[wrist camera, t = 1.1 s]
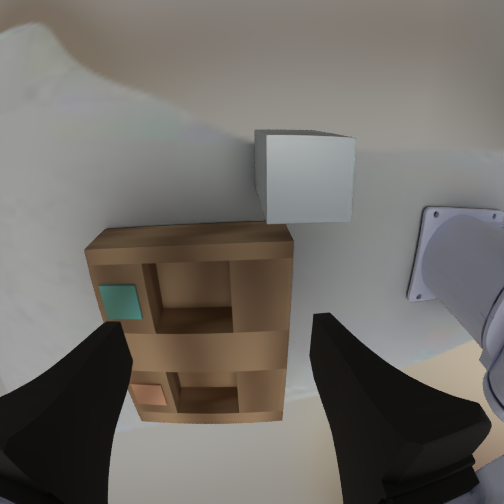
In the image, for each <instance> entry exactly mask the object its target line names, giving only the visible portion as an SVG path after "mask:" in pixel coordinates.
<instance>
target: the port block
mask: <svg viewBox="0 0 504 504" xmlns="http://www.w3.org/2000/svg"><path fill="white" fill-rule="evenodd" d="M293 248H294V241H293V239H292V236H291V234H290V232H289V230H288V228H287V226H286V224H267V223H266V221H259V222H231V223H207V224H185V225H166V226H148V227H131V228H116V229H105V230H104V231H103V232H102V233H101V234H99V235H98V236H97V237H96V238H95V239H94V240H93V241H92V242H91V243H90V245H89V246H88V247H87V248H86V249H85V250H84V251H85V256H86V260H87V264H88V268H89V272H90V276H91V280H92V284H93V288H94V291H95V295H96V298H97V302H98V305H99V309H100V312H101V315H102V319H103V322H104V323H105V322H106V321H120V322H121V325H122V328H123V331H124V335H125V338H126V341H127V344H128V347H129V350H130V353H131V356H132V359H133V366H132V372H131V378H130V383H129V386H128V391H129V393H130V396H131V398H132V400H133V403H134V405H135V407H136V409H137V412H138V414H139V416H140V418H141V421H148V422H163V423H190V424H191V423H192V424H226V423H227V424H229V423H253V422H268V421H280V420H282V416H283V406H284V395H285V383H286V370H287V357H288V342H289V327H290V310H291V292H292V272H293Z"/></svg>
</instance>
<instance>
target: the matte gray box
mask: <svg viewBox="0 0 504 504" xmlns="http://www.w3.org/2000/svg"><path fill="white" fill-rule="evenodd" d="M355 139H356V138H354V137H348V136H343V135H338V134H332V133H326V132H320V131H314V130H313V131H312V130H255V188H256V191H257V194H258V197H259V200H260V204H261V207H262V210H263V213H264V216H265V219H266V223H267V224H285V223H328V222H351V210H352V197H353V182H354V164H355Z"/></svg>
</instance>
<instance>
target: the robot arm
mask: <svg viewBox="0 0 504 504" xmlns="http://www.w3.org/2000/svg"><path fill="white" fill-rule="evenodd" d="M435 212H436V215H435V216H434V213H435ZM492 216H493V217H492ZM503 218H504V213H503V211H501V210H492V209H474V208H452V207H427V208H426V209H425V210H424V213H423V220H422V226H421V232H420V238H419V244H418V249H417V254H416V259H415V264H414V269H413V273H412V278H411V282H410V287H409V291H408V295H407V298H408V300H409V301H410V302H417V301H425V300H432V299H438V300H439V301H440V302H441V303H442V304H443V305H444V306H445V307H446V308H447V309H448V310H449V311H450V312H451V314H452V315H453V316H454V317H455V318H456V319H457V320H458V321H459V322H460V324H461V325H462V326H463V327H464V328H465V329H466V330H467V331H468V333H469V334H470V335H471V336H472V337H473V338H474V340H475V341H476V342H477V343H478V344H479V345H480V347H481V348H482V349H483V351H482V354H481V357H480V359H479V360H480V362H481V363H482V364H483V365H484V367H485V368H486V370H487V372H486V373H485V376H484V378H483V391H484V395H485V397H486V400H487V402H488V404H489V406H490V408H491V409H492V411H493V412H494V414H495V415H496V416H497V417H498V418H499V419H500V420H501V421H503V422H504V224H503ZM418 294H419V295H418ZM417 295H418V296H417ZM309 356H310V361H311V366H312V371H313V376H314V380H315V383H316V386H317V389H318V392H319V395H320V398H321V401H322V404H323V407H324V409H325V412H326V416H327V418H328V421H329V424H330V428H331V431H332V436H333V441H334V446H335V451H336V456H337V462H338V468H339V473H340V480H341V488H342V495H343V504H504V455H502V456H500V457H499V458H497V459H495V460H494V461H492V462H490V463H488V464H486V465H485V466H483V467H481V468H480V469H479V470H477V471H476V472H474V469H473V467H472V466H473V465H474V464H475V459H474V457H473V455H472V453H473V452H474V451H475V450H476V449H477V448H478V446H479V445H480V444H481V443H482V442H483V441H484V439H485V438H486V437H487V435H488V434H489V432H490V429H491V426H492V425H491V421H490V420H489V418H488V416H487V415H486V414H485V412H484V410H483V409H482V407H481V406H480V404H479V403H477V402H473V401H469V400H465V399H462V398H459V397H455V396H452V395H449V394H447V393H444V392H442V391H439V390H437V389H434V388H432V387H430V386H428V385H425V384H423V383H421V382H419V381H418V380H416V379H414V378H412V377H410V376H408V375H406V374H405V373H403V372H401V371H400V370H398V369H397V368H395V367H393V366H392V365H390V364H389V363H387V362H386V361H385V360H383V359H382V358H380V357H379V356H378V355H377V354H375V353H374V352H373V351H371V350H370V349H369V348H368V347H366V346H365V345H364V344H363V343H362V342H361V341H359V340H358V339H357V338H356V337H355V336H354V335H353V334H352V333H351V332H350V331H348V330H347V329H346V328H345V327H344V326H343V325H342V324H341V323H340V322H339V321H338V320H337V319H336V318H335V317H334V316H333V315H332V314H331V313H319V314H313V325H312V335H311V345H310V355H309ZM132 366H133V359H132V356H131V353H130V350H129V347H128V344H127V341H126V338H125V335H124V331H123V328H122V325H121V322H120V321H106V322H105V323H103V324H102V325H101V326H100V327H98V328H97V329H96V330H95V331H94V332H93V333H91V334H90V335H89V336H88V337H87V338H86V339H85V340H84V341H82V342H81V343H80V344H79V345H78V346H77V347H76V348H74V349H73V350H72V351H71V352H70V353H69V354H67V355H66V356H65V357H64V358H62V359H61V360H60V361H59V362H57V363H56V364H55V365H54V366H52V367H51V368H50V369H48V370H47V371H46V372H44V373H43V374H41V375H40V376H38V377H37V378H35V379H34V380H32V381H30V382H29V383H27V384H25V385H23V386H21V387H20V388H18V389H16V390H14V391H12V392H10V393H8V394H6V395H4V396H2V397H0V504H108V476H109V466H110V456H111V448H112V443H113V437H114V433H115V428H116V425H117V422H118V418H119V415H120V412H121V409H122V406H123V402H124V399H125V396H126V393H127V390H128V386H129V383H130V378H131V372H132Z"/></svg>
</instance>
